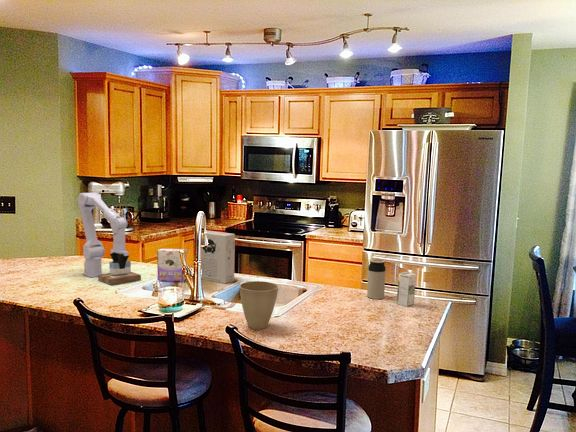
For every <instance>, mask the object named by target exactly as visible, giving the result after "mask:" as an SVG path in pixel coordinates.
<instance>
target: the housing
mask: <svg viewBox="0 0 576 432" xmlns="http://www.w3.org/2000/svg"><path fill="white" fill-rule="evenodd" d="M131 264H132V263H131V260H129V259H127V261H126V265H125V269H120V265H119V261H113V260H112V261H109V273H110V274H113V275H118V274H125V273H131V272H132V270H131V267H132V265H131Z"/></svg>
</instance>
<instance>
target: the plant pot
mask: <svg viewBox="0 0 576 432" xmlns="http://www.w3.org/2000/svg"><path fill="white" fill-rule="evenodd" d="M278 291H279V285H278V284H277V283H274V282H269V281H260V280H253V281H245V282H242V283H240V284H239V295H240V301H241V306H242V310H243V315H244V319H245V321H246V323H247V326H248V328H250V329H254V330H262V329H266V328H267V327H268V325H269V324H270V323H269V322H270V321H271V318H272V315H273V311H274V309H275V304H276V301H277V296H278Z"/></svg>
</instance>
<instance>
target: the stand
mask: <svg viewBox="0 0 576 432" xmlns="http://www.w3.org/2000/svg"><path fill="white" fill-rule="evenodd" d="M97 277H98V278H97V280H98V282H101V283H103V284H107V285H109V286H119V285H122V284H124V285H125V284H130V283H135V282H140V281H142V275H141V274H139V273H137V272H133V271H131V273H125V274H118V275H113V274H110V272H107V273H103V274H100V275H98V276H97Z"/></svg>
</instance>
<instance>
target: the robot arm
mask: <svg viewBox="0 0 576 432" xmlns="http://www.w3.org/2000/svg"><path fill="white" fill-rule="evenodd" d="M77 203H78V208H79V210H80V216H81V221H82V225H83V230H84V234H85V240H86V242H85V243H84V244H83V246H82V249H83V250H82V253H83V257H84V258H85V260H84V262H83V273H82V275H83V276H85V277H89V278H96V277H98V275H100V274H104V273H102V269H103V268H102V266H103V265H102V259H103V257H104V256H105V253H106V250H105V246H103V242H101V241H100V240H98V237H97V236H98V235H97V232H96V227H95V223H94V216H93V211H92V210H93V209H94V208H97V209H99V210H100V211H101V213H103V215H102V216H103V217H104V218H105V220H107V222H109V225H110V228H111V232H112V234H113V235H112V237H113V241H112V242H113V245H112V246H113V247H112V248H110V254H109V255H110V257H111V259H112V261H119V265H120V269H125V265H126V261H127V260H129V257H130V255H129V252H130V251H128V250H126V228H127V227H128V224H129V223H128V220H127V219H126V217H125V216H123V217H122V216H120V215H119V214H118V213H117V212H116V211H115V209H114V208H110V207H108V205H107V204H106V203H105V202H104V201H103V199H102V195H101V194H99V192H97V191H94V192H80V193H79V195H78V197H77Z"/></svg>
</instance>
